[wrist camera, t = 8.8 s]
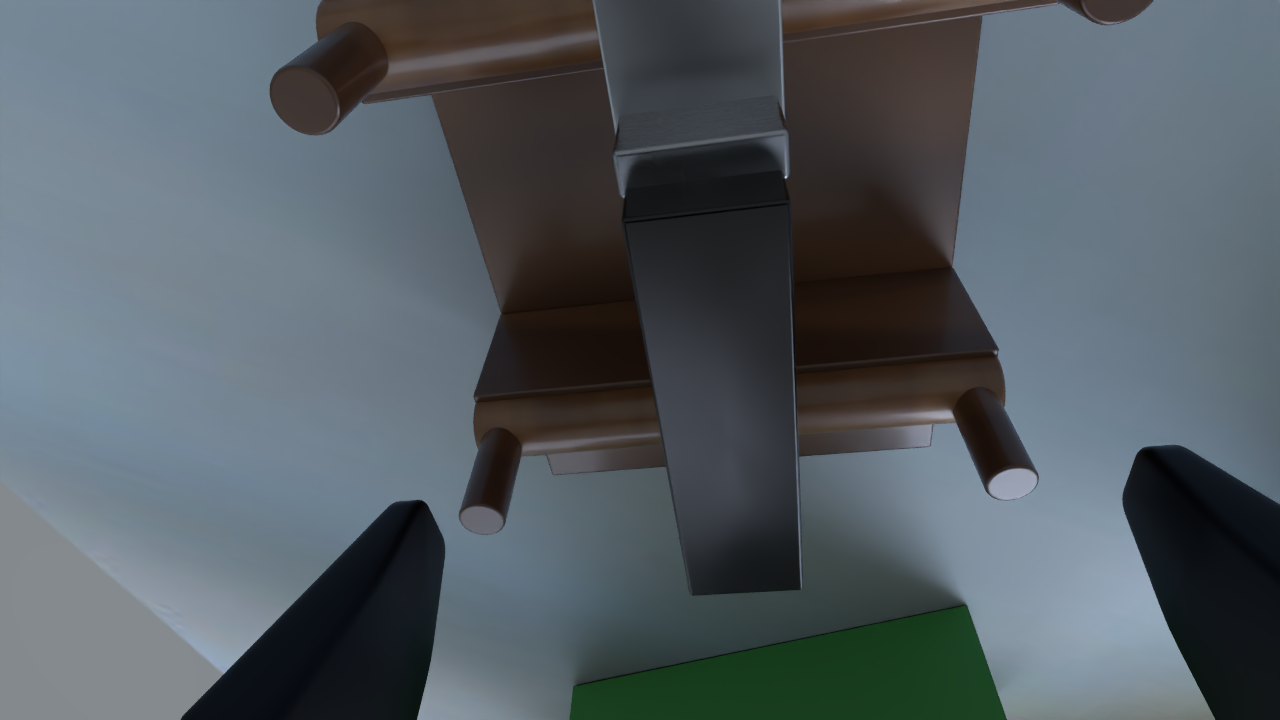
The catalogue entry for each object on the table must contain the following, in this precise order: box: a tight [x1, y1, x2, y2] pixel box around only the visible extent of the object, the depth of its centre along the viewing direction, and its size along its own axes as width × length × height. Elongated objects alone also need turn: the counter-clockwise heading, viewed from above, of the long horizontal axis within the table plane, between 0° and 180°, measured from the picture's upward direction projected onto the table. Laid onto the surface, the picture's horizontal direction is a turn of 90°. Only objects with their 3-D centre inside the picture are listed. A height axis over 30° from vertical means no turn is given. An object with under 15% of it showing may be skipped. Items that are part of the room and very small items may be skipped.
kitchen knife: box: [591, 0, 803, 595], centre depth 11 cm, size 20×3×3 cm, turn 9°
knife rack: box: [270, 0, 1153, 535], centre depth 15 cm, size 20×12×8 cm, turn 9°
